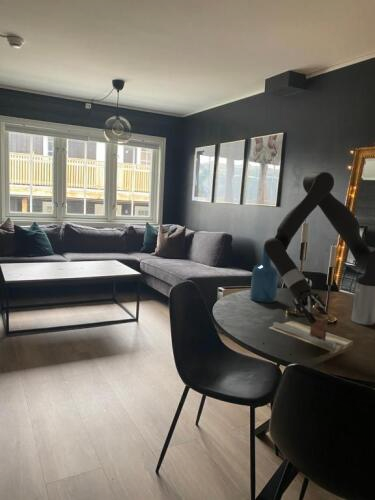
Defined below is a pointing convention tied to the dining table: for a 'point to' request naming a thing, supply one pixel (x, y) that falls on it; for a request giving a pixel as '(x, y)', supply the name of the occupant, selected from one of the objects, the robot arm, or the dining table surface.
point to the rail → (304, 335)
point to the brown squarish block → (319, 325)
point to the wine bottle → (264, 281)
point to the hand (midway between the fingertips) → (320, 321)
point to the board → (339, 343)
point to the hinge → (309, 281)
